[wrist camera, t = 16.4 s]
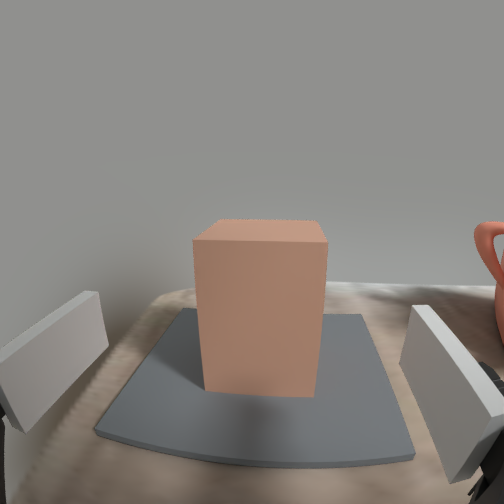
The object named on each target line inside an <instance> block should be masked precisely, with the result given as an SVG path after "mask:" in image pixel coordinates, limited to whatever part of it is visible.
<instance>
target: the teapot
mask: <svg viewBox="0 0 504 504" xmlns="http://www.w3.org/2000/svg"><path fill="white" fill-rule="evenodd" d="M499 234H504V222H484V223H481V224H479V225H478V226H477V227H476V229H475V232H474V239H475V244H476V247H477V250H478V252H479V254H480V256H481V258H482V260H483V262H484V263H485V265H486V266H487V268H488V269H489V271H490V272H491V274H492V275H493V277H494V278H495V280H496V281H497V284H496V290H495V314H496V321H497V325H498V329H499V332H500V336H501V339H502V342H503V345H504V251H503V256H502V260H501V265H500V264H499V261H498V259H497V256H496V252H495V249H494V245H493V239H494V237H495V236H496V235H499Z"/></svg>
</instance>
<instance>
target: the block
mask: <svg viewBox="0 0 504 504" xmlns="http://www.w3.org/2000/svg"><path fill="white" fill-rule="evenodd" d="M327 253H328V241H327V239H326V238H325V236H324V234H323V232H322V230H321V228H320V226H319V224H318V222H317V221H307V220H305V221H304V220H248V219H247V220H246V219H245V220H244V219H241V220H239V219H221V220H219V221H218V222H216V223H215V224H214V225H212V226H211V227H209V228H208V229H207V230H205V231H204V232H203V233H201V234H200V235H199V236H197V237H196V238H194V239H193V254H194V255H193V256H194V272H195V287H196V301H197V314H198V326H199V337H200V347H201V357H202V367H203V376H204V385H205V391H211V392H221V393H231V394H244V395H258V396H278V397H314V391H315V384H316V376H317V368H318V359H319V351H320V341H321V331H322V321H323V310H324V298H325V285H326V270H327Z"/></svg>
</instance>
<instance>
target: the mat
mask: <svg viewBox="0 0 504 504" xmlns="http://www.w3.org/2000/svg"><path fill="white" fill-rule="evenodd" d="M94 429H95V431H96V433H97V435H98V436H101V437H105V438H108V439H111V440H114V441H118V442H121V443H125V444H128V445H132V446H136V447H140V448H144V449H148V450H152V451H156V452H161V453H165V454H170V455H175V456H180V457H186V458H191V459H197V460H204V461H211V462H218V463H226V464H234V465H245V466H257V467H272V468H341V467H356V466H368V465H378V464H387V463H394V462H401V461H408V460H413V458H414V456H415V454H416V453H415V450H414V447H413V444H412V441H411V438H410V435H409V432H408V429H407V427H406V424H405V421H404V418H403V416H402V413H401V410H400V407H399V405H398V402H397V400H396V397H395V394H394V392H393V389H392V387H391V384H390V382H389V379H388V376H387V374H386V371H385V369H384V367H383V364H382V362H381V359H380V357H379V354H378V352H377V350H376V347H375V345H374V343H373V340H372V338H371V336H370V333H369V331H368V329H367V326H366V324H365V322H364V320H363V317H362V315H361V314H323V321H322V331H321V341H320V351H319V359H318V368H317V376H316V384H315V391H314V397H278V396H258V395H244V394H231V393H221V392H211V391H205V385H204V376H203V367H202V357H201V347H200V337H199V326H198V314H197V309H192V308H183V309H182V310H181V311H180V313H179V314H178V315H177V317H176V318H175V319H174V321H173V322H172V323H171V325H170V326H169V327H168V329H167V330H166V331H165V333H164V334H163V335H162V337H161V338H160V339H159V341H158V342H157V344H156V345H155V346H154V348H153V349H152V350H151V352H150V353H149V354H148V356H147V357H146V358H145V360H144V361H143V362H142V364H141V365H140V366H139V368H138V369H137V371H136V372H135V373H134V375H133V376H132V377H131V379H130V380H129V381H128V383H127V384H126V386H125V387H124V388H123V390H122V391H121V392H120V394H119V395H118V397H117V398H116V399H115V401H114V402H113V403H112V405H111V406H110V408H109V409H108V410H107V412H106V413H105V415H104V416H103V417H102V419H101V420H100V421H99V423H98V424H97V426H96V427H95V428H94Z"/></svg>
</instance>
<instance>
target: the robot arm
mask: <svg viewBox="0 0 504 504" xmlns="http://www.w3.org/2000/svg"><path fill="white" fill-rule="evenodd" d="M108 346H109V343H108V339H107V335H106V330H105V326H104V321H103V316H102V311H101V306H100V300H99V294H98V292H94V291H84V292H82V293H81V294H79V295H77V296H76V297H74V298H73V299H71V300H70V301H68V302H67V303H65V304H64V305H62V306H61V307H59V308H58V309H56V310H55V311H53V312H52V313H50V314H49V315H47V316H46V317H44V318H43V319H42V320H40V321H39V322H37V323H36V324H34V325H33V326H31V327H30V328H29V329H27V330H26V331H24V332H23V333H21V334H20V335H18V336H17V337H16V338H14V339H13V340H11V341H10V342H9V343H7V344H6V345H4V346H3V347H2V348H0V504H6V495H5V479H4V435H5V425H4V422H3V420H2V419H1V418H2V417H3V416H4V415H5V414H6V416H7V417H8V419H9V421H10V423H11V425H12V427H14V428H16V429H18V430H19V431H21V432H23V433H25V434H26V433H27V432H28V431H29V430H30V429H31V428H32V427H33V426H34V425H35V423H36V422H37V421H38V420H39V419H40V418H41V417H42V416H43V414H45V412H46V411H47V410H48V409H49V408H50V407H51V406H52V405H53V404H54V403H55V402H56V401H57V400H58V398H59V397H60V396H61V395H62V394H63V393H64V392H65V391H66V390H67V389H68V388H69V387H70V386H71V385H72V384H73V383H74V381H75V380H76V379H77V378H78V377H79V376H80V375H81V374H82V373H83V372H84V371H85V370H86V369H87V368H88V367H89V366H90V365H91V364H92V363H93V362H94V360H96V358H97V357H98V356H99V355H100V354H101V353H102V352H103V351H104V350H105V349H106V348H107V347H108ZM399 364H400V366H401V369H402V371H403V373H404V375H405V377H406V379H407V381H408V384H409V386H410V388H411V390H412V392H413V395H414V397H415V399H416V401H417V404H418V406H419V408H420V411H421V413H422V415H423V417H424V420H425V422H426V425H427V427H428V429H429V432H430V434H431V437H432V439H433V442H434V444H435V447H436V449H437V452H438V454H439V457H440V459H441V462H442V465H443V467H444V470H445V473H446V476H447V478H448V481H449V484H452V483H456V482H459V481H463V480H466V479H469V478H471V477H472V476H473V474H474V473H475V471H476V470H477V469H478V467H479V466H480V467H481V469H482V471H483V475H482V476H481V478H480V479H479V480H478V481H477V483H476V484H475V485H474V487H473V488H472V489H471V490H470V492H469V493H468V494H467V495H469V496H470V495H471V494H472V493H473V492H474V493H473V495H472V498H471V500H470V502H469V504H504V382H503V381H502V380H500V377H499V376H498V374H497V373H496V372H495V371H494V370H493V369H492V368H491V367H489V366H488V365H486V364H485V363H483V362H478V363H477V361H476V360H475V359H474V358H473V356H472V355H471V354H470V353H469V352H468V350H467V349H466V348H465V347H464V345H463V344H462V343H461V342H460V341H459V339H458V338H457V337H456V336H455V335H454V334H453V332H452V331H451V330H450V329H449V328H448V327H447V325H446V324H445V323H444V322H443V321H442V320H441V318H440V317H439V316H438V315H437V314H436V313H435V312H434V311H433V309H432V308H431V307H430V306H429V305H412V307H411V312H410V317H409V322H408V327H407V332H406V336H405V341H404V345H403V349H402V353H401V358H400V361H399Z"/></svg>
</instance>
